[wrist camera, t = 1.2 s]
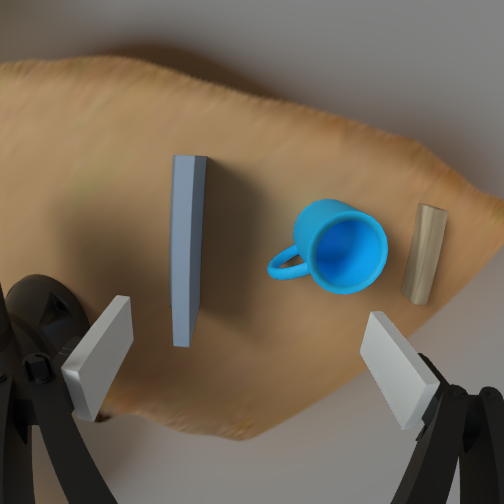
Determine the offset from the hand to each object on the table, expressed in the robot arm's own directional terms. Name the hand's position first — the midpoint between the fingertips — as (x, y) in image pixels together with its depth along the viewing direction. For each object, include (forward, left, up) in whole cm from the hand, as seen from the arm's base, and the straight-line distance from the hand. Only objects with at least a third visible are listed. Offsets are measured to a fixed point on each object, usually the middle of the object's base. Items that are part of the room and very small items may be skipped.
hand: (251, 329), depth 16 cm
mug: (+8, 0, -21) cm, 22 cm away
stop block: (+22, 0, -21) cm, 30 cm away
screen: (-6, 0, -21) cm, 21 cm away
